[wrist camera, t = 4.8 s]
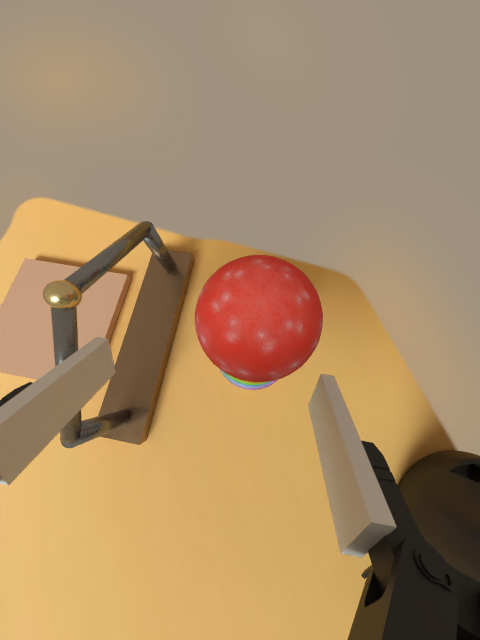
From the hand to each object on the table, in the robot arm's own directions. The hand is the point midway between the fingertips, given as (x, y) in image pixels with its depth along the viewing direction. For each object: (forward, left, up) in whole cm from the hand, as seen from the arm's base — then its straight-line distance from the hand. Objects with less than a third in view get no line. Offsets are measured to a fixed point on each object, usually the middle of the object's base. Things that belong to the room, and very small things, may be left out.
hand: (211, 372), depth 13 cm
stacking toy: (-1, -4, -11) cm, 12 cm away
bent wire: (+10, +2, -11) cm, 15 cm away
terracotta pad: (+20, +8, -11) cm, 24 cm away
